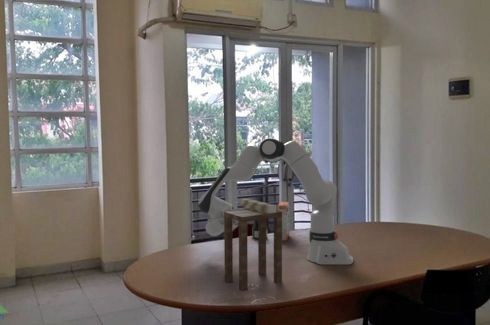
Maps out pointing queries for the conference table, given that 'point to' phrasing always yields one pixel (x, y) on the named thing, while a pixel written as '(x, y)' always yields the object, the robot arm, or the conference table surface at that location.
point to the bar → (258, 205)
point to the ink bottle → (256, 230)
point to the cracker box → (284, 219)
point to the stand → (228, 244)
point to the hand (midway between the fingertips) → (238, 208)
